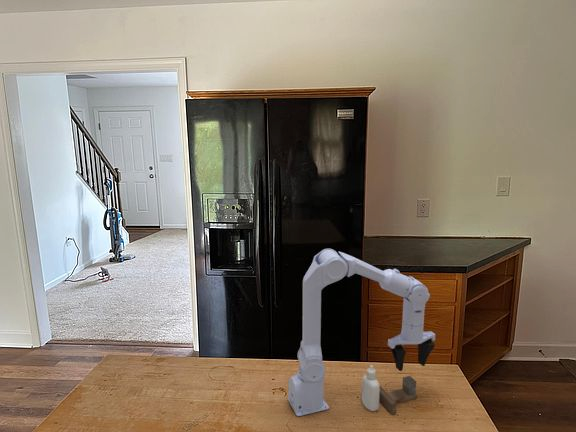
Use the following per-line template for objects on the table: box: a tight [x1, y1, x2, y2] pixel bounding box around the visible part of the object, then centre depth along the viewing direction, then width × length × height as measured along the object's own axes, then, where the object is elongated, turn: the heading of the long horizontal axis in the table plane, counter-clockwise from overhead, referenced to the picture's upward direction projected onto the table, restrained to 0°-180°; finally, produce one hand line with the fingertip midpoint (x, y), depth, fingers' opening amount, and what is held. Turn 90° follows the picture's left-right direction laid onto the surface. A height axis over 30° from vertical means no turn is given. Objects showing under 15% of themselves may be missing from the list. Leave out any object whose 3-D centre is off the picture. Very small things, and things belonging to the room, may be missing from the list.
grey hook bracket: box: [379, 375, 418, 415], centre depth 110 cm, size 11×11×5 cm
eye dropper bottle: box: [361, 364, 381, 412], centre depth 107 cm, size 4×6×12 cm
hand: (410, 366), depth 110 cm, fingers open, 7 cm apart
